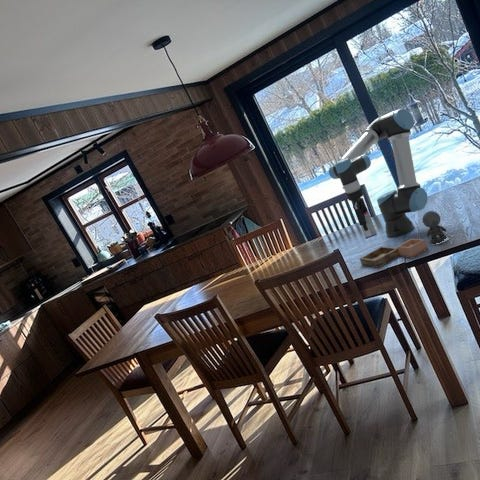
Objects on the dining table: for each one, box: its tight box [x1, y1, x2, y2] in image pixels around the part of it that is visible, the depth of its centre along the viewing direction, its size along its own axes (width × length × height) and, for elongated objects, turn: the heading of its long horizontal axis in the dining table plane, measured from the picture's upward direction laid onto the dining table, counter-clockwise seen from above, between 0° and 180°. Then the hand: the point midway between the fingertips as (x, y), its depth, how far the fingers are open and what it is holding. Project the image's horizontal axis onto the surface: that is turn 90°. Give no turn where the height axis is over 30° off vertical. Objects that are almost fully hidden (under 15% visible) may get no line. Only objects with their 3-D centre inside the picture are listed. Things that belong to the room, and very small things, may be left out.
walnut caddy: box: [359, 245, 400, 268], centre depth 218 cm, size 14×14×4 cm
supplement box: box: [360, 210, 378, 240], centre depth 215 cm, size 6×6×12 cm
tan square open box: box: [396, 238, 428, 259], centre depth 208 cm, size 9×9×5 cm
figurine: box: [422, 210, 447, 244], centre depth 207 cm, size 9×10×15 cm
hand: (370, 233), depth 216 cm, fingers closed on supplement box, 7 cm apart
